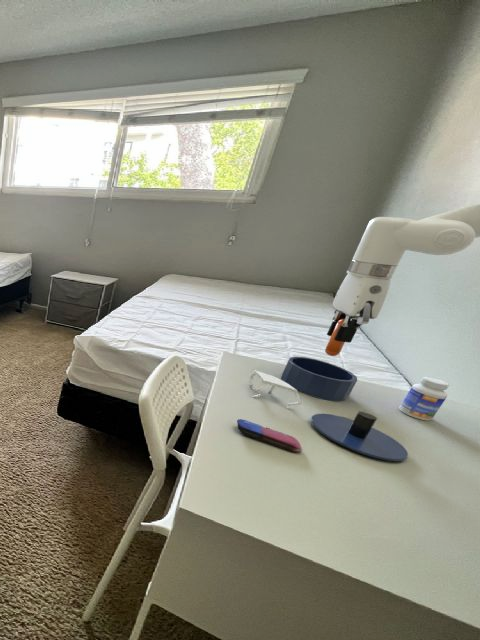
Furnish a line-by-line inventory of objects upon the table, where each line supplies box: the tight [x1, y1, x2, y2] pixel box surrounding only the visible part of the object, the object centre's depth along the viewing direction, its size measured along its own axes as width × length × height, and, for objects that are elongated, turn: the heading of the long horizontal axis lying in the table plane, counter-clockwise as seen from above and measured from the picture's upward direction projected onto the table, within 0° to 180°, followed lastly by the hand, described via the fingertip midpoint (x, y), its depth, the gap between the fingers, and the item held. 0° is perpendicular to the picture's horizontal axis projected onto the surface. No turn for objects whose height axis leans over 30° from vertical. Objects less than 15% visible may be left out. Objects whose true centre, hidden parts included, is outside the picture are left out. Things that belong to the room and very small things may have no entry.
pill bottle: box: [398, 376, 450, 421], centre depth 85 cm, size 5×5×10 cm
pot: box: [280, 356, 358, 402], centre depth 95 cm, size 14×14×6 cm
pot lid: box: [310, 411, 409, 462], centre depth 75 cm, size 15×15×6 cm
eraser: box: [236, 418, 303, 454], centre depth 73 cm, size 11×4×2 cm, turn 56°
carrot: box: [324, 319, 352, 357], centre depth 91 cm, size 3×3×10 cm
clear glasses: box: [249, 369, 302, 410], centre depth 89 cm, size 12×8×5 cm
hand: (338, 338), depth 91 cm, fingers closed on carrot, 2 cm apart
